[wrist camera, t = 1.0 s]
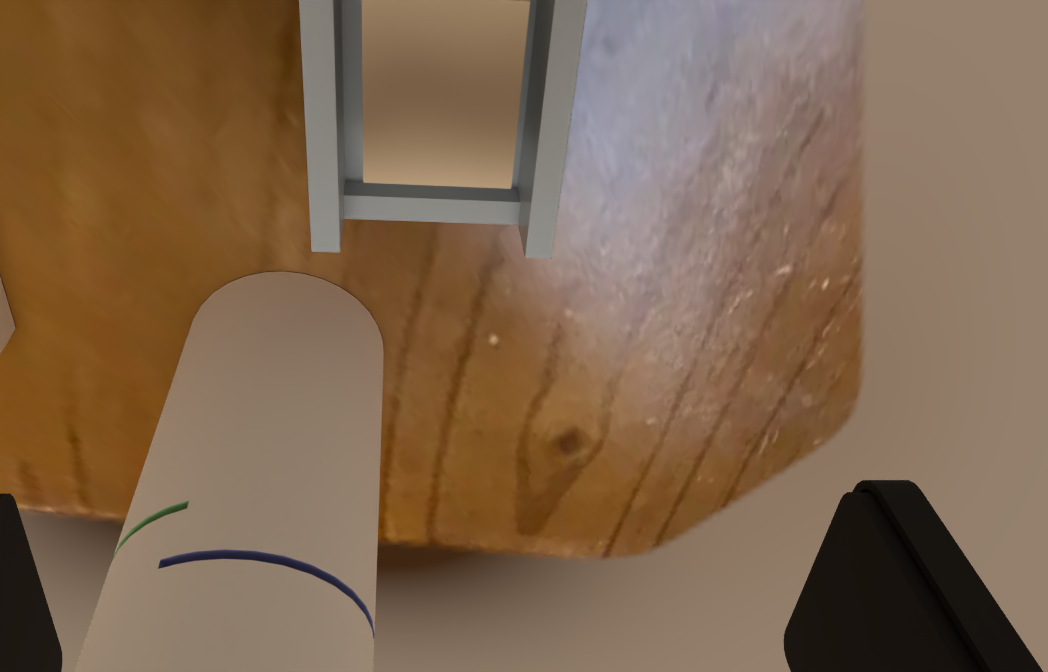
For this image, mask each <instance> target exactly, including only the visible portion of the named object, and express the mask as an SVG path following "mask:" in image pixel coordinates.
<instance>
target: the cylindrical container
mask: <svg viewBox="0 0 1048 672" xmlns="http://www.w3.org/2000/svg"><path fill="white" fill-rule="evenodd" d="M383 360H384V351H383V341H382V337H381V334H380V331H379V328H378V325H377V324H376V322H375V321H374V319H373V317H372V316H371V314H370V312H369V311H368V310H367V309H366V308H365V307H364V306H363V305H362V304H361V303H360V302H359V301H358V299H356V298H355V297H353V296H352V295H351V294H349V293H348V292H346V291H345V290H344V289H342V288H341V287H339V286H336V285H334V284H332V283H330V282H328V281H326V280H324V279H321V278H317V277H313V276H310V275H306V274H302V273H293V272H284V271H281V272H263V273H258V274H253V275H248V276H245V277H242V278H240V279H237V280H235V281H232V282H229V283H228V284H226V285H225V286H223V287H221V288H220V289H218V290H217V291H215V292H214V293H213V294H212V295H211V296H210V297H209V298H208V299H207V300H206V301H205V302H204V303H203V304H202V305H201V307H200V308H199V310H198V312H197V314H196V315H195V317H194V319H193V322H192V325H191V327H190V330H189V333H188V336H187V339H186V342H185V345H184V348H183V351H182V354H181V357H180V360H179V363H178V366H177V369H176V372H175V375H174V378H173V381H172V384H171V387H170V390H169V393H168V396H167V399H166V402H165V405H164V408H163V411H162V414H161V417H160V420H159V423H158V426H157V428H156V431H155V434H154V437H153V440H152V443H151V446H150V449H149V452H148V455H147V458H146V461H145V464H144V467H143V470H142V473H141V476H140V479H139V482H138V485H137V488H136V491H135V494H134V497H133V500H132V503H131V506H130V509H129V512H128V515H127V518H126V521H125V524H124V527H123V529H122V533H121V535H120V539H119V542H118V545H117V548H116V550H115V554H114V556H113V561H112V563H111V566H110V568H109V571H108V574H107V577H106V580H105V583H104V586H103V589H102V592H101V595H100V598H99V601H98V604H97V607H96V610H95V613H94V616H93V619H92V622H91V625H90V628H89V631H88V634H87V636H86V639H85V642H84V646H83V648H82V651H81V654H80V657H79V660H78V663H77V666H76V669H75V672H373V662H374V631H375V602H376V601H375V600H376V572H377V542H378V512H379V482H380V451H381V421H382V391H383Z"/></svg>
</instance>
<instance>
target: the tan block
mask: <svg viewBox="0 0 1048 672" xmlns="http://www.w3.org/2000/svg"><path fill="white" fill-rule="evenodd" d="M529 7H530V1H529V0H362V84H363V183H382V184H406V185H430V186H455V187H479V188H503V189H511V185H512V175H513V165H514V155H515V145H516V135H517V126H518V116H519V106H520V96H521V86H522V76H523V66H524V56H525V46H526V37H527V27H528V17H529Z"/></svg>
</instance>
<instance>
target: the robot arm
mask: <svg viewBox="0 0 1048 672" xmlns="http://www.w3.org/2000/svg"><path fill="white" fill-rule="evenodd" d="M784 651H785V656H786V659H787V663H788V665H789V668H790V670H791V672H1043V671H1042V669H1041V668H1040V666H1039V665H1038V663H1037V662H1036V660H1035V659H1034V657H1033V656H1032V654H1031V653H1030V651H1029V650H1028V649H1027V647H1026V646H1025V644H1024V643H1023V641H1022V640H1021V638H1020V637H1019V635H1018V634H1017V632H1016V631H1015V629H1014V628H1013V626H1012V625H1011V623H1010V622H1009V620H1008V619H1007V618H1006V616H1005V614H1004V613H1003V611H1002V610H1001V609H1000V607H999V605H998V604H997V603H996V601H995V599H994V598H993V597H992V595H991V594H990V592H989V591H988V589H987V588H986V586H985V585H984V583H983V582H982V580H981V579H980V577H979V576H978V574H977V573H976V571H975V570H974V568H973V567H972V565H971V564H970V562H969V561H968V560H967V558H966V556H965V555H964V553H963V552H962V550H961V549H960V548H959V546H958V545H957V543H956V542H955V540H954V539H953V537H952V536H951V534H950V533H949V531H948V530H947V528H946V527H945V525H944V524H943V522H942V521H941V519H940V518H939V516H938V515H937V514H936V512H935V510H934V509H933V507H932V506H931V504H930V503H929V501H928V500H927V499H926V497H925V496H924V494H923V493H922V491H921V490H920V489H919V487H918V486H917V485H916V484H915V483H913V482H911V481H909V480H865V481H864V480H863V481H861V482H859V483H858V484H857V485H856V487H855V488H854V490H853V492H847V493H846V494H844V495H843V497H842V499H841V500H840V503H839V505H838V507H837V510H836V512H835V514H834V517H833V519H832V521H831V524H830V526H829V529H828V531H827V533H826V536H825V538H824V540H823V543H822V545H821V547H820V550H819V552H818V554H817V557H816V559H815V561H814V564H813V566H812V569H811V571H810V573H809V576H808V578H807V581H806V583H805V585H804V588H803V590H802V592H801V595H800V597H799V599H798V602H797V604H796V607H795V609H794V611H793V613H792V616H791V618H790V620H789V623H788V625H787V627H786V630H785V634H784ZM61 669H62V651H61V646H60V643H59V640H58V637H57V634H56V630H55V627H54V624H53V620H52V617H51V614H50V611H49V608H48V604H47V601H46V598H45V595H44V592H43V588H42V585H41V582H40V579H39V575H38V572H37V569H36V566H35V562H34V560H33V556H32V553H31V550H30V547H29V543H28V540H27V537H26V534H25V530H24V527H23V524H22V521H21V517H20V514H19V511H18V508H17V505H16V502H15V499H14V497H13V496H12V495H11V494H0V672H61Z"/></svg>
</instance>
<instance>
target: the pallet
mask: <svg viewBox="0 0 1048 672" xmlns="http://www.w3.org/2000/svg"><path fill="white" fill-rule="evenodd" d="M529 1H530V7H529V17H528V27H527V37H526V46H525V56H524V66H523V76H522V86H521V96H520V106H519V116H518V126H517V135H516V145H515V155H514V165H513V175H512V185H511V189H503V188H479V187H455V186H430V185H406V184H382V183H363V84H362V0H299V10H300V30H301V50H302V70H303V90H304V110H305V129H306V149H307V169H308V189H309V209H310V229H311V249H312V252H340V249H341V240H342V232H343V223H344V219H366V220H394V221H422V222H450V223H479V224H507V225H518V226H519V231H520V236H521V241H522V246H523V250H524V255H525V258H543V259H552V252H553V245H554V237H555V230H556V223H557V216H558V208H559V201H560V194H561V186H562V179H563V172H564V165H565V157H566V150H567V143H568V136H569V128H570V121H571V114H572V107H573V99H574V92H575V85H576V78H577V70H578V63H579V56H580V49H581V41H582V34H583V27H584V20H585V12H586V5H587V0H529Z"/></svg>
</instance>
